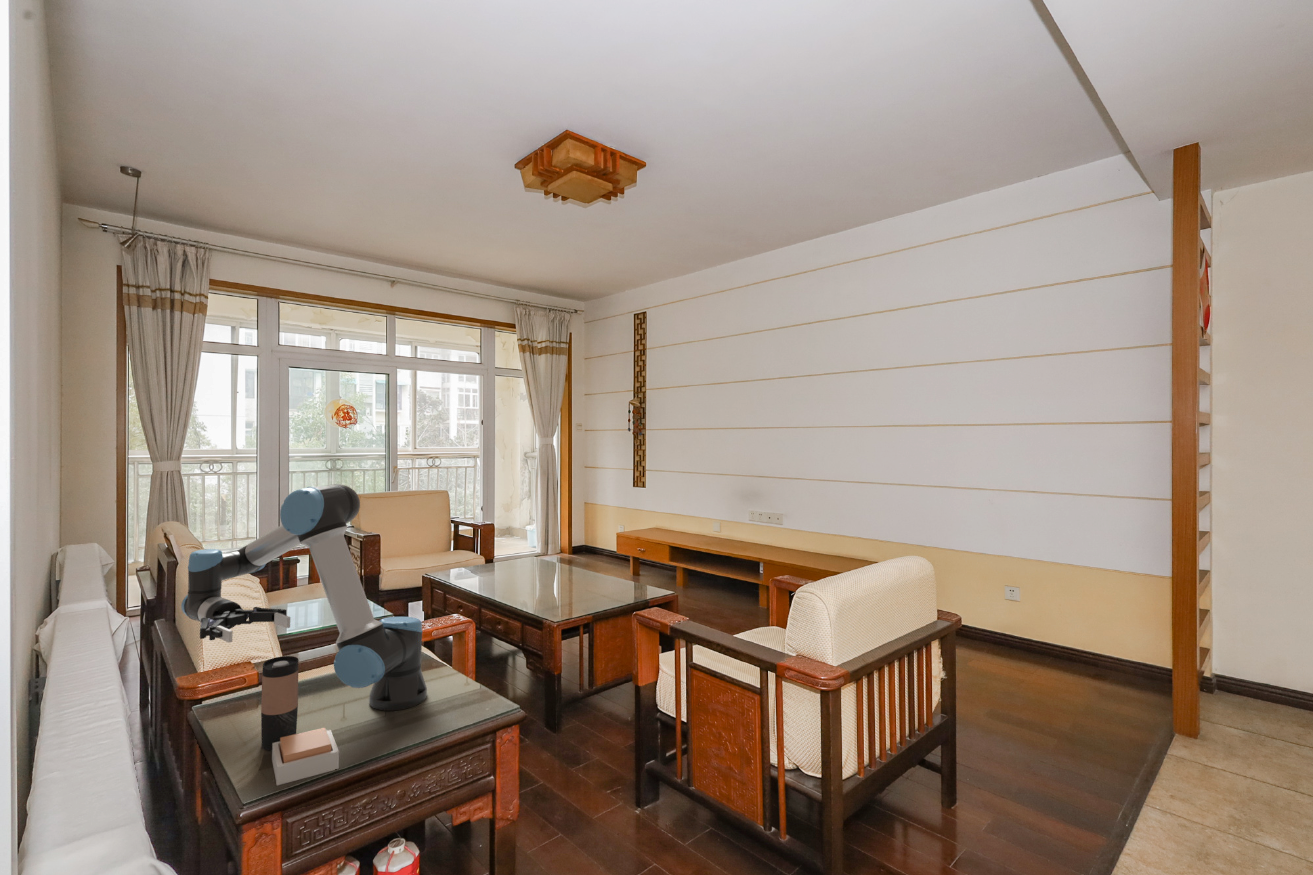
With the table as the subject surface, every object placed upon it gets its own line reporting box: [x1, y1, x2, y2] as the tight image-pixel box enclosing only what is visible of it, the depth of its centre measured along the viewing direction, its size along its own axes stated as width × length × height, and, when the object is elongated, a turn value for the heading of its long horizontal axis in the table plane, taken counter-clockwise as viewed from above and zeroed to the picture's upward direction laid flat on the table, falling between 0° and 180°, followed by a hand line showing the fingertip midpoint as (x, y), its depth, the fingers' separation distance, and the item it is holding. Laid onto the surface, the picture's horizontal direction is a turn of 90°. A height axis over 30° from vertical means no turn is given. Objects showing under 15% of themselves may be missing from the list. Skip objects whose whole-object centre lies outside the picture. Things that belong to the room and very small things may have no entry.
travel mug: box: [260, 655, 299, 751], centre depth 150 cm, size 8×8×20 cm
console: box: [271, 729, 340, 786], centre depth 142 cm, size 12×12×4 cm
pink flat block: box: [280, 727, 331, 763], centre depth 142 cm, size 9×9×3 cm
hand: (260, 629), depth 155 cm, fingers open, 13 cm apart
